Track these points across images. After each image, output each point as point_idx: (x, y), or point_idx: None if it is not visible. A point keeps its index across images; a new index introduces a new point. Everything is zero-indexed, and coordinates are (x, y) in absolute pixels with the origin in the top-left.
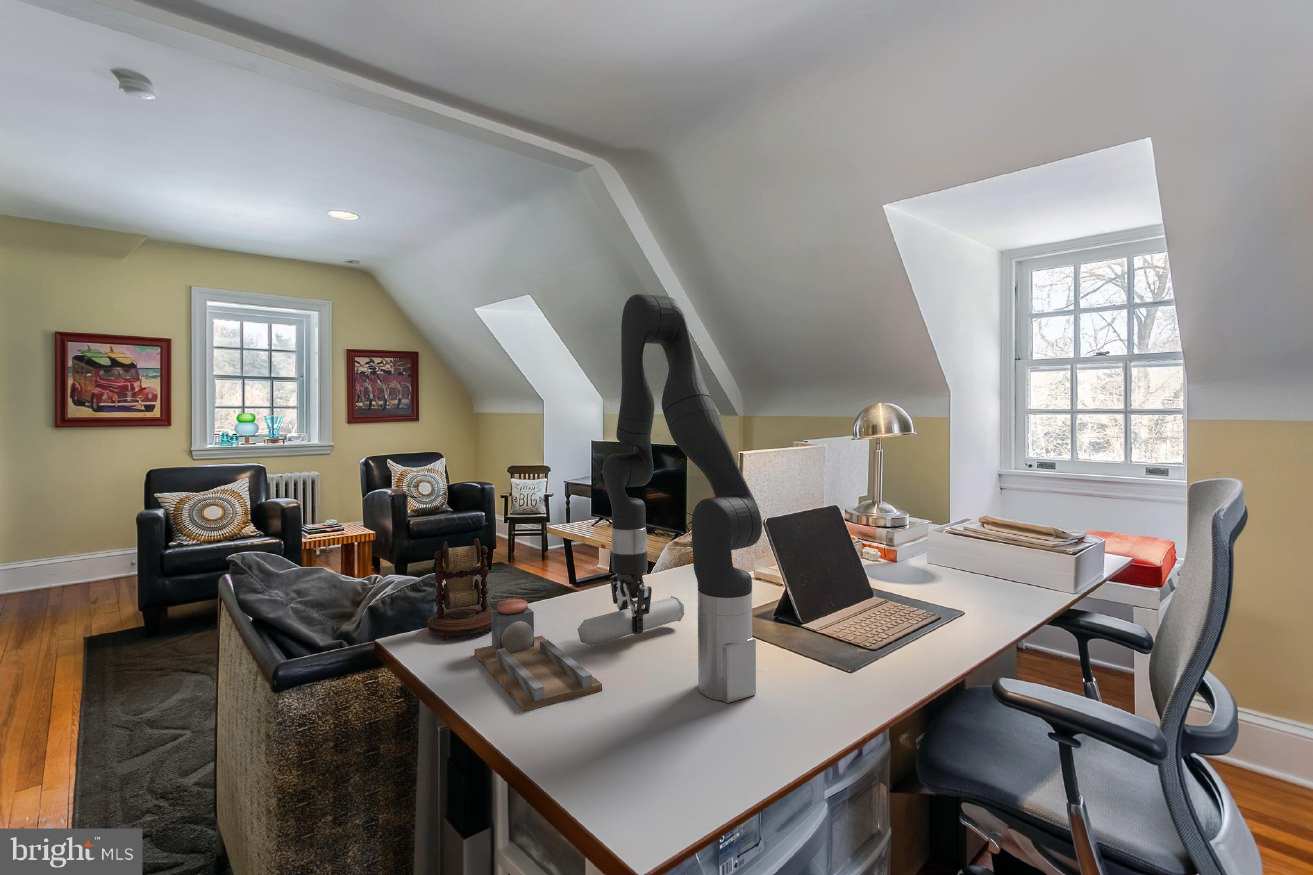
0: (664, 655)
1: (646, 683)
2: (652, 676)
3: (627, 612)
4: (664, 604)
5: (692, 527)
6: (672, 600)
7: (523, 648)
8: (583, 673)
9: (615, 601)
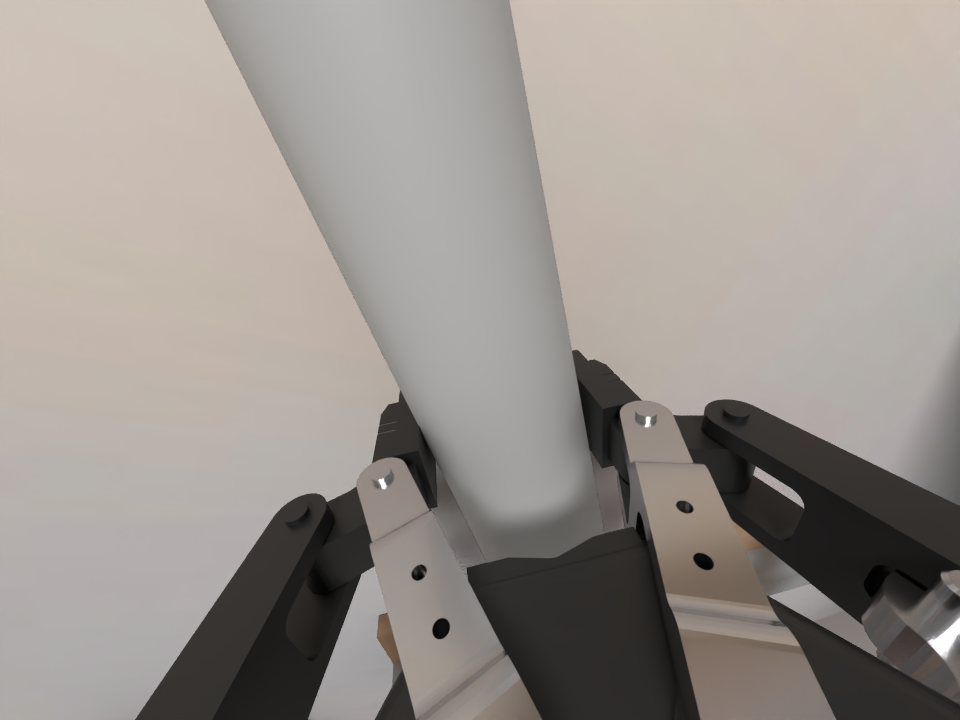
0: (725, 279)
1: (842, 407)
2: (825, 380)
3: (557, 495)
4: (467, 83)
5: None
6: None
7: None
8: (802, 581)
9: (360, 574)
